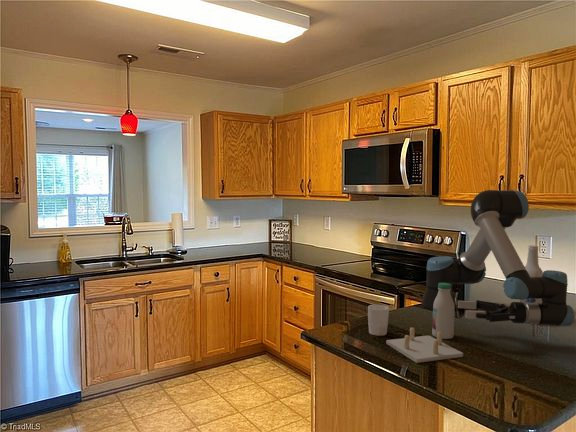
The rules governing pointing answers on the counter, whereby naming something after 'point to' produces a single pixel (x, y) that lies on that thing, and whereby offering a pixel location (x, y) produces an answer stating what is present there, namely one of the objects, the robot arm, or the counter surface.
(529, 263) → the alcohol
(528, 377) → the counter surface
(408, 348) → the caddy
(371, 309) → the white cup
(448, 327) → the milk bottle
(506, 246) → the robot arm
